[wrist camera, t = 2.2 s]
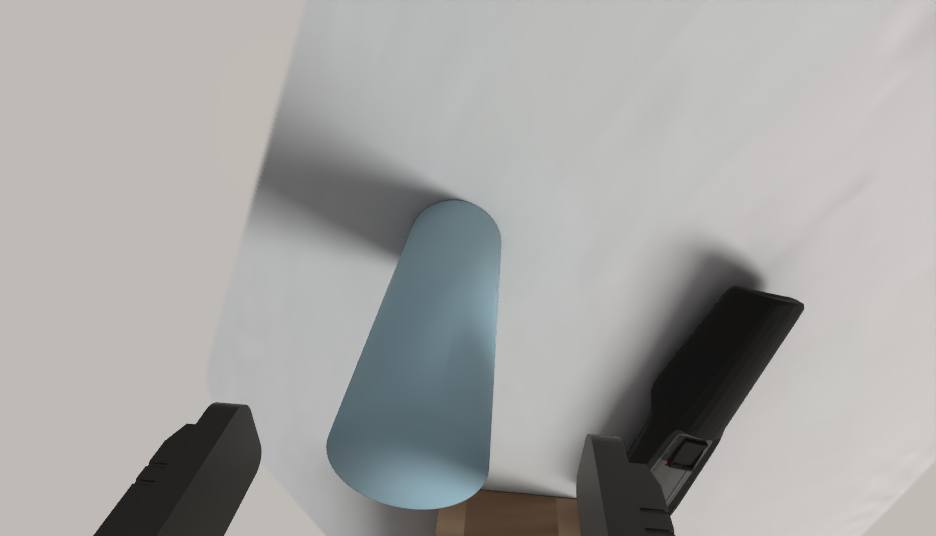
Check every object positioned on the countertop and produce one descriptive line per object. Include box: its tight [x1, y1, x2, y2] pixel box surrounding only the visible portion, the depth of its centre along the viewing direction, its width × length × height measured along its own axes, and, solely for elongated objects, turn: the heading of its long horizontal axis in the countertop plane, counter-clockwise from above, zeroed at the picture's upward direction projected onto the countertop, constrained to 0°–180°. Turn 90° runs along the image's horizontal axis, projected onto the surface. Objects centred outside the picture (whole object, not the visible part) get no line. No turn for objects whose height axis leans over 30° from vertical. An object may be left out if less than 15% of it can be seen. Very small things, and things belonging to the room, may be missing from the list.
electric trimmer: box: [627, 286, 804, 516], centre depth 22 cm, size 4×16×3 cm, turn 169°
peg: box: [326, 200, 501, 510], centre depth 15 cm, size 4×4×10 cm
